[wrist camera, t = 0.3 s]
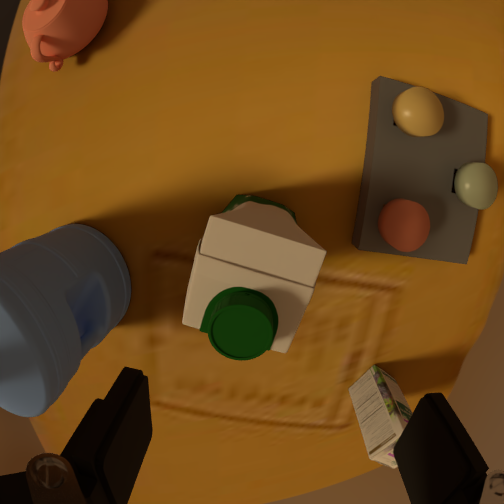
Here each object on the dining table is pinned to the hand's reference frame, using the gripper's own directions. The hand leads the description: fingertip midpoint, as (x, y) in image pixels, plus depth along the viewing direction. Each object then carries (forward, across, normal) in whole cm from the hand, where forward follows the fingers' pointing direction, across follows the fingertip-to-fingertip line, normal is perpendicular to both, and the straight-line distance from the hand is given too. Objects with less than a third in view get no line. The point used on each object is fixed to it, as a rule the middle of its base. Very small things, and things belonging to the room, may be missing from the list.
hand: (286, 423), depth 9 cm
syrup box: (+30, -19, +21) cm, 41 cm away
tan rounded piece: (+27, -13, -16) cm, 34 cm away
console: (+29, -18, -10) cm, 36 cm away
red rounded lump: (+27, -13, -4) cm, 30 cm away
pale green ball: (+27, -22, -10) cm, 36 cm away
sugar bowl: (+30, +30, -26) cm, 49 cm away
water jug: (+30, +24, +9) cm, 39 cm away
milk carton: (+30, +2, 0) cm, 30 cm away
